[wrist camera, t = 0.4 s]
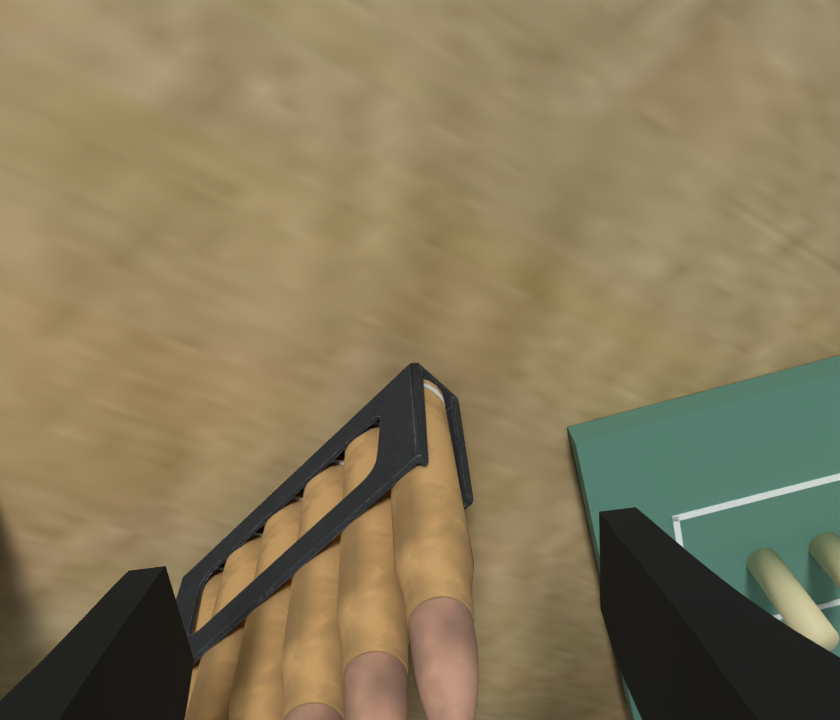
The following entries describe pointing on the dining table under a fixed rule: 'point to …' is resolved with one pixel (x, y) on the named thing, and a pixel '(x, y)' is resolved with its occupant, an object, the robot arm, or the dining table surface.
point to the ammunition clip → (347, 577)
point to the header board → (735, 487)
